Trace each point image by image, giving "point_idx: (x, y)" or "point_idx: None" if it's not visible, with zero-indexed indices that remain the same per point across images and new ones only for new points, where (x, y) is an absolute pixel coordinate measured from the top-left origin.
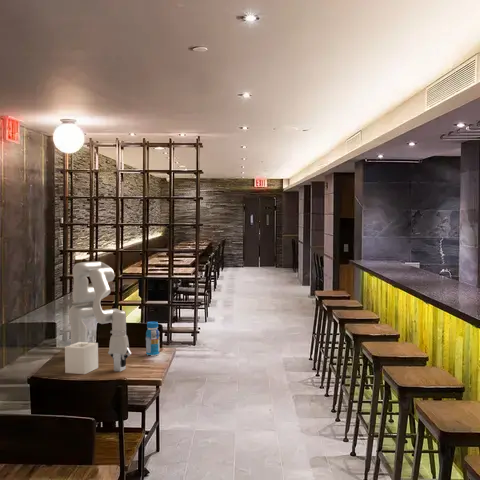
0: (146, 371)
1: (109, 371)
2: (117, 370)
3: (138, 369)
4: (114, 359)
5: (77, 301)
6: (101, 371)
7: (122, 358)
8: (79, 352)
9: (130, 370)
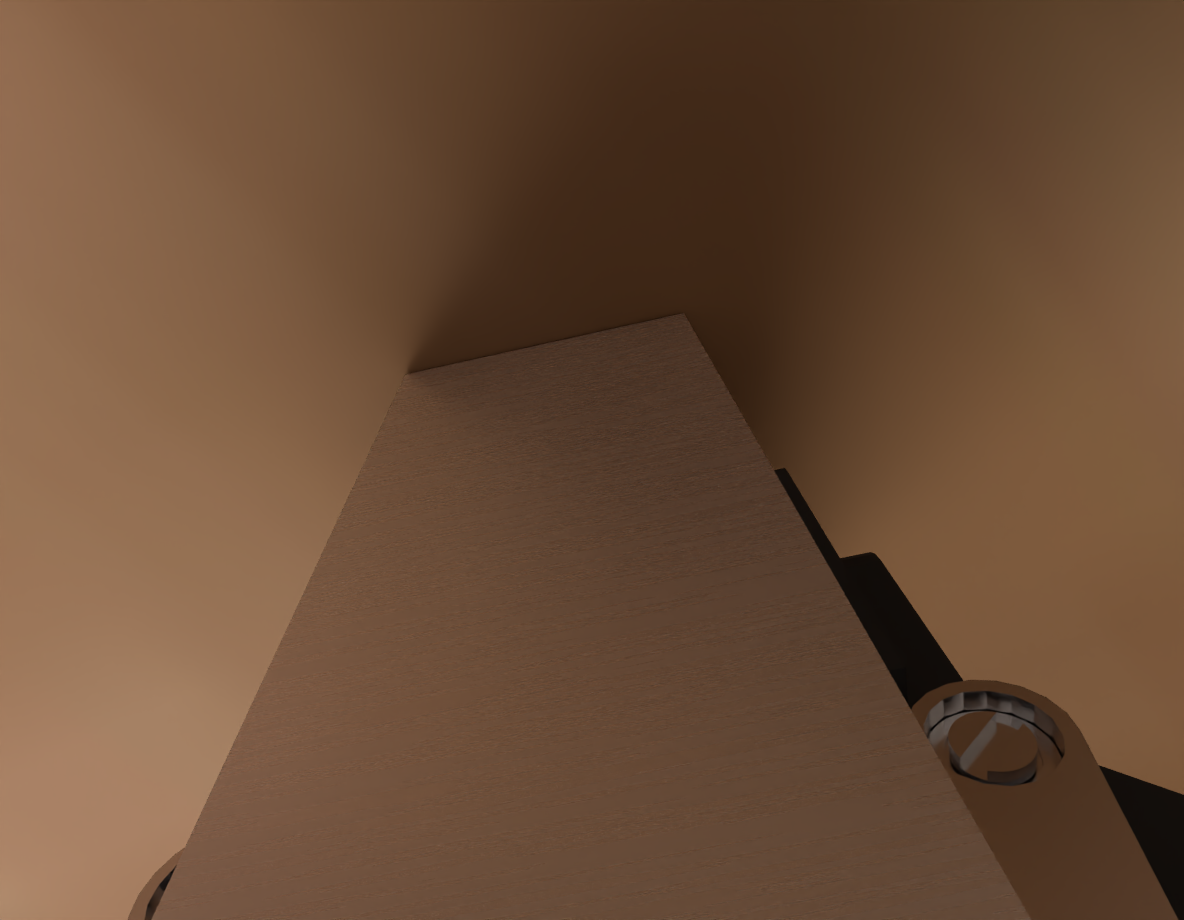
0: None
1: (818, 192)
2: (526, 357)
3: (117, 813)
4: (753, 571)
5: None
6: (1149, 22)
7: None
8: None
9: (226, 640)
